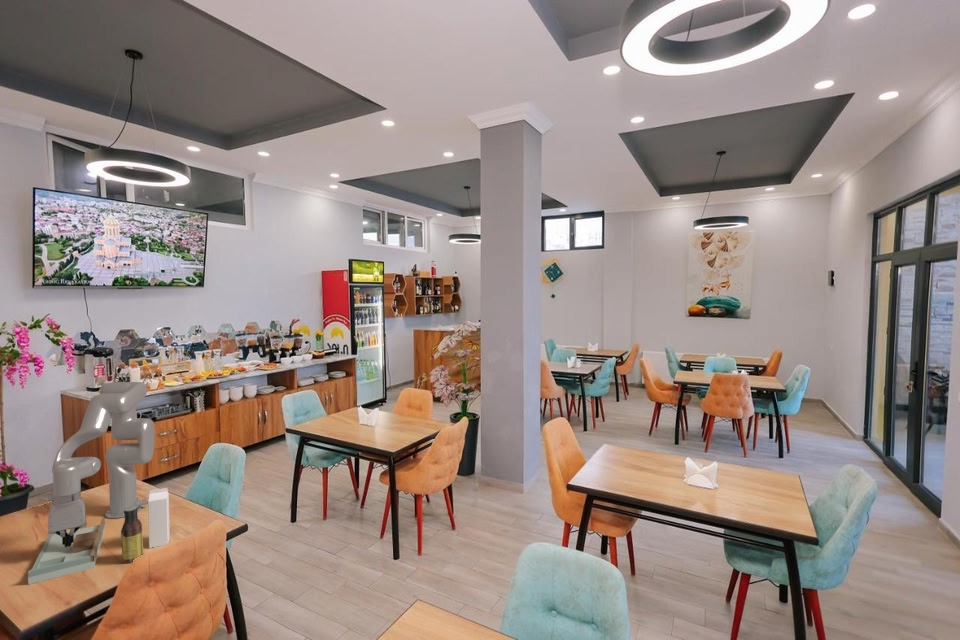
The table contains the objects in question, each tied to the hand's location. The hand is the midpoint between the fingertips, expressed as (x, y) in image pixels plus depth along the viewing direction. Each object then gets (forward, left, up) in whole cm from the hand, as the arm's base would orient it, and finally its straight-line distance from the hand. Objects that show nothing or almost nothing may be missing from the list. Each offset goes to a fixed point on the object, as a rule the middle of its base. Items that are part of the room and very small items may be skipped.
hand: (68, 545), depth 166 cm
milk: (-28, +8, -4) cm, 29 cm away
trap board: (-1, -1, -4) cm, 4 cm away
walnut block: (-5, +1, -2) cm, 5 cm away
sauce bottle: (-20, +16, -4) cm, 26 cm away
